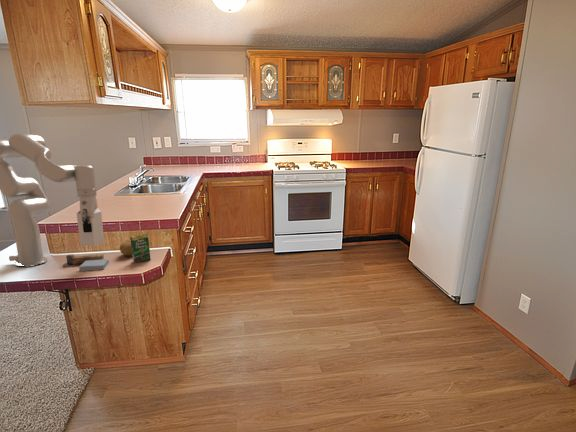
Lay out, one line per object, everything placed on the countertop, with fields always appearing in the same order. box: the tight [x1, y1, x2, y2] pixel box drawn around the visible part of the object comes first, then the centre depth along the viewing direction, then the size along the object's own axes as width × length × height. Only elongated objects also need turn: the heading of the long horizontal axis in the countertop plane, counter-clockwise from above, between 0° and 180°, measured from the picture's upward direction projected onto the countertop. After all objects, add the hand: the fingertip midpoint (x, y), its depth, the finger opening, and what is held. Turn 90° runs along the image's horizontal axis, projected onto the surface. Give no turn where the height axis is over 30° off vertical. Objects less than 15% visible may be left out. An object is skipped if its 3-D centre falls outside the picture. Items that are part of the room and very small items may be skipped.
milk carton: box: [76, 207, 105, 247], centre depth 156 cm, size 7×7×19 cm
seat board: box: [78, 258, 110, 272], centre depth 160 cm, size 10×9×2 cm
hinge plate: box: [62, 262, 81, 268], centre depth 163 cm, size 7×7×1 cm
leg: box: [65, 254, 105, 265], centre depth 164 cm, size 16×3×4 cm, turn 108°
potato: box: [119, 239, 132, 257], centre depth 178 cm, size 10×14×8 cm
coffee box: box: [129, 233, 151, 263], centre depth 167 cm, size 8×3×13 cm, turn 127°
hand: (91, 229), depth 156 cm, fingers closed on milk carton, 8 cm apart
